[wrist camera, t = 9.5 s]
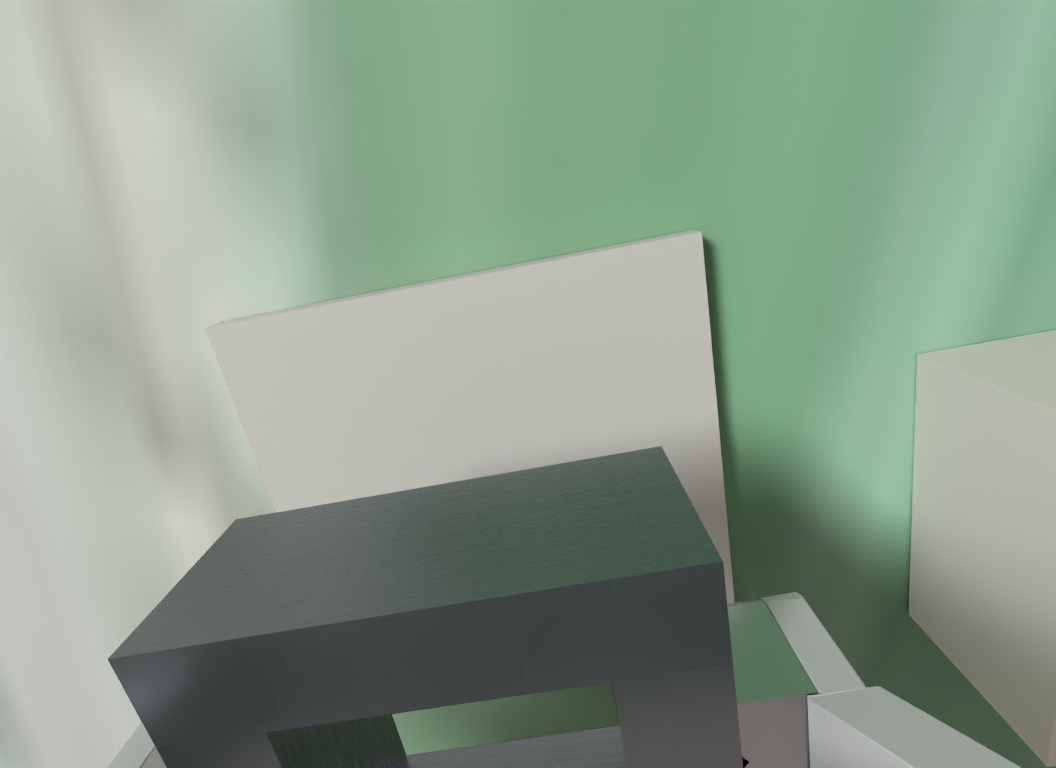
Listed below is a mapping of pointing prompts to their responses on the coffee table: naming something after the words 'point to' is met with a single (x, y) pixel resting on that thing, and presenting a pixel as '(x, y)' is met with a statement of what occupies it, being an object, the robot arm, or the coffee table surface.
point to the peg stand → (990, 523)
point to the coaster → (487, 378)
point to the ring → (448, 625)
